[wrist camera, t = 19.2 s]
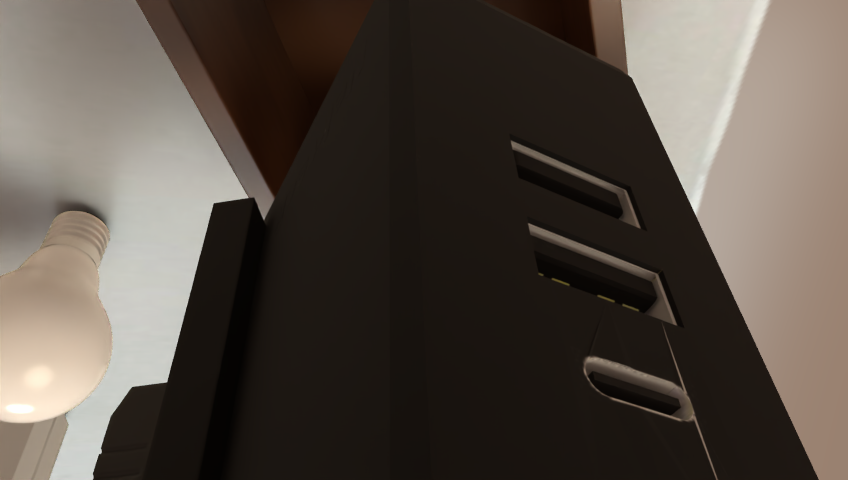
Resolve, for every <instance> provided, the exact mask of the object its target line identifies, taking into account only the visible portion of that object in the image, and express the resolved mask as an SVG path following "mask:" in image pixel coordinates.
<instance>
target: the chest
mask: <svg viewBox="0 0 848 480" xmlns="http://www.w3.org/2000/svg"><path fill="white" fill-rule="evenodd" d="M136 1H137V3H138V5H139V7H140V8H141V10H142V12H143V14H144V15H145V17H146V19H147V21H148V22H149V24H150V26H151V28H152V29H153V31H154V33H155V35H156V36H157V38H158V40H159V42H160V43H161V45H162V47H163V49H164V50H165V52H166V54H167V56H168V57H169V59H170V61H171V63H172V64H173V66H174V68H175V70H176V71H177V73H178V75H179V77H180V78H181V80H182V82H183V84H184V85H185V87H186V89H187V91H188V92H189V94H190V96H191V98H192V99H193V101H194V103H195V104H196V106H197V108H198V110H199V111H200V113H201V115H202V117H203V118H204V120H205V122H206V124H207V125H208V127H209V129H210V131H211V132H212V134H213V136H214V138H215V139H216V141H217V143H218V145H219V146H220V148H221V150H222V152H223V153H224V155H225V157H226V159H227V160H228V162H229V164H230V166H231V167H232V169H233V171H234V173H235V174H236V176H237V178H238V180H239V181H240V183H241V185H242V187H243V188H244V190H245V192H246V194H247V195H248V197H249V198H253V197H254V198H255V200H256V203H257V205H258V208H259V210H260V212H261V215H262V217H263V220H264V219H265V217H266V215H267V213H268V211H269V209H270V207H271V205H272V203H273V201H274V199H275V197H276V195H277V193H278V191H279V189H280V187H281V185H282V183H283V181H284V179H285V177H286V175H287V173H288V171H289V169H290V167H291V165H292V163H293V161H294V159H295V157H296V155H297V153H298V151H299V149H300V147H301V145H302V143H303V141H304V139H305V137H306V135H307V133H308V131H309V129H310V127H311V125H312V123H313V121H314V119H315V117H316V115H317V113H318V111H319V109H320V107H321V105H322V103H323V101H324V99H325V97H326V95H327V93H328V91H329V89H330V87H331V85H332V83H333V81H334V79H335V77H336V75H337V73H338V71H339V69H340V67H341V65H342V63H343V61H344V59H345V57H346V55H347V53H348V51H349V49H350V47H351V45H352V43H353V41H354V39H355V37H356V35H357V33H358V31H359V29H360V27H361V25H362V23H363V21H364V19H365V17H366V15H367V13H368V11H369V9H370V7H371V5H372V4H373V2H374V0H136ZM483 1H485V2H487V3H489V4H491V5H493V6H495V7H497V8H499V9H501V10H503V11H505V12H507V13H509V14H511V15H513V16H515V17H517V18H519V19H521V20H523V21H525V22H527V23H529V24H531V25H533V26H535V27H537V28H539V29H541V30H543V31H545V32H547V33H549V34H551V35H553V36H555V37H557V38H559V39H561V40H563V41H565V42H567V43H569V44H571V45H573V46H575V47H577V48H579V49H581V50H583V51H585V52H586V53H588V54H590V55H592V56H594V57H596V58H598V59H600V60H602V61H604V62H606V63H608V64H610V65H612V66H614V67H616V68H618V69H620V70H622V71H623V72H624V73H626V74H627V75H628V69H627V59H626V48H625V38H624V28H623V17H622V7H621V0H483Z"/></svg>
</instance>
